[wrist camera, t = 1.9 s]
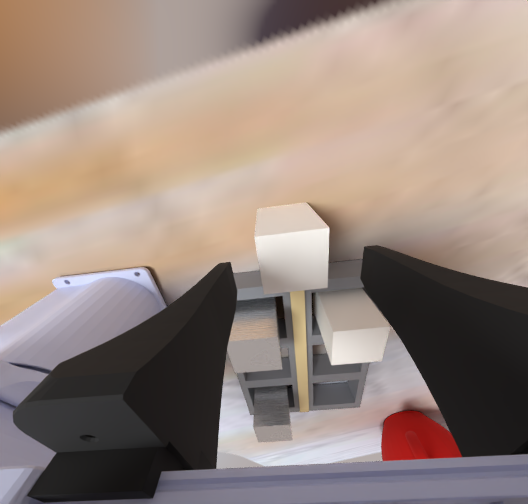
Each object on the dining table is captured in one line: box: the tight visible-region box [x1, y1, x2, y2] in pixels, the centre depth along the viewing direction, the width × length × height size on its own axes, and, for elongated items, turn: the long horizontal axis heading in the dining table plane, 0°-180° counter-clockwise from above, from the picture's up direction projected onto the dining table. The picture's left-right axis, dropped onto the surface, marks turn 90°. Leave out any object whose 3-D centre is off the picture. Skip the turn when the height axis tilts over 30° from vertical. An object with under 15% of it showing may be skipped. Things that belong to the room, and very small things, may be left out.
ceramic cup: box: [381, 411, 462, 461], centre depth 27 cm, size 13×17×10 cm
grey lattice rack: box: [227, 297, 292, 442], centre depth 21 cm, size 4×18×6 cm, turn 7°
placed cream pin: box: [314, 288, 391, 365], centre depth 17 cm, size 4×4×6 cm
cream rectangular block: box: [255, 202, 329, 294], centre depth 14 cm, size 4×4×6 cm
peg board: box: [233, 259, 380, 415], centre depth 22 cm, size 15×22×3 cm
